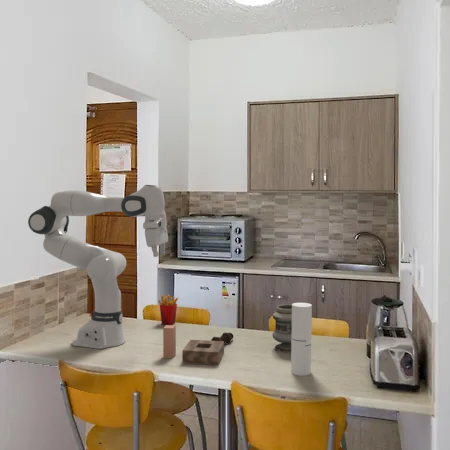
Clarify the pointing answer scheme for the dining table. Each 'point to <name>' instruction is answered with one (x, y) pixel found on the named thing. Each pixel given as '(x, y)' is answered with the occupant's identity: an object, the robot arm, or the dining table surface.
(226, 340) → the bolt
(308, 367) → the cylindrical container
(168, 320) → the french fries
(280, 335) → the apothecary jar
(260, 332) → the dining table surface
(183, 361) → the socket block
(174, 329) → the peg
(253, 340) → the dining table surface
